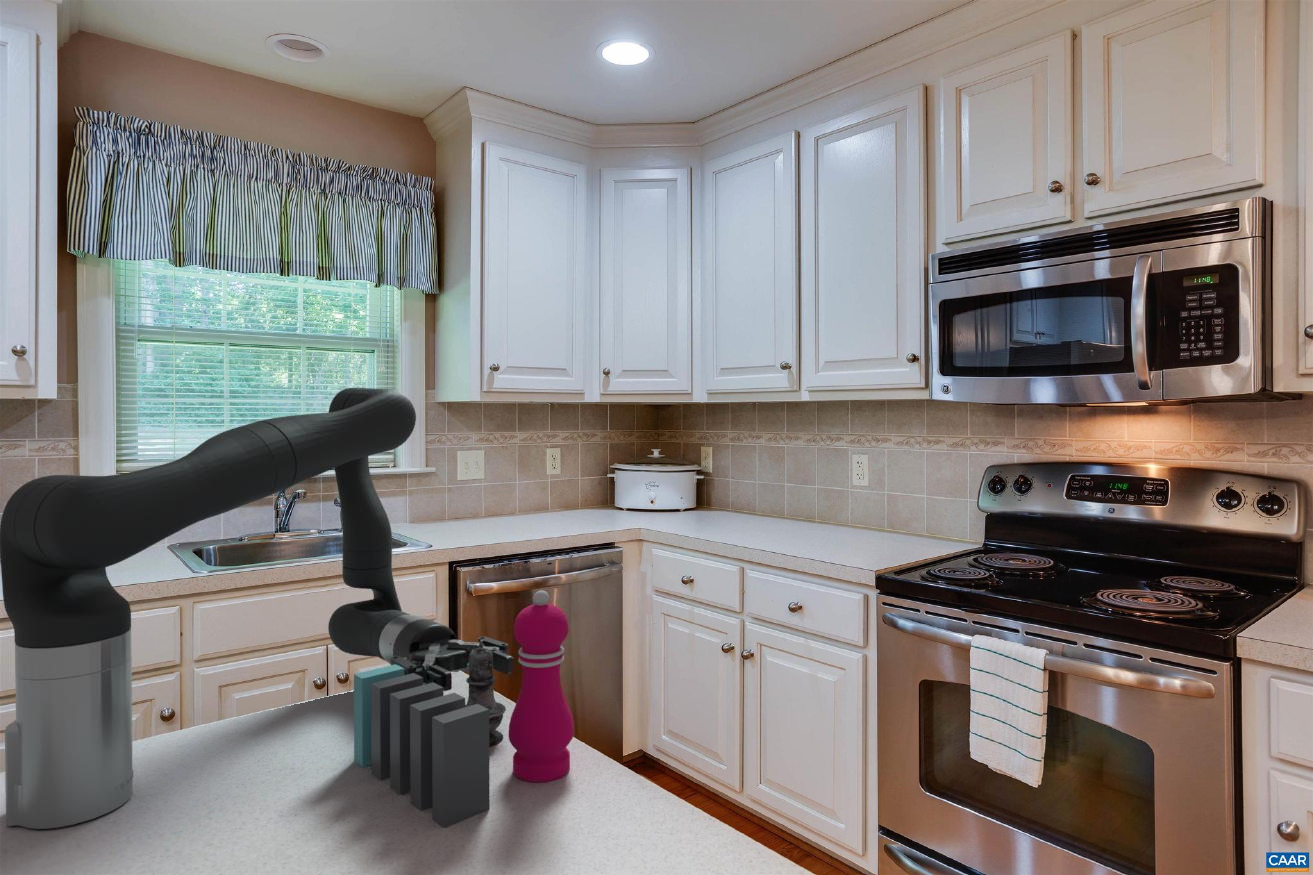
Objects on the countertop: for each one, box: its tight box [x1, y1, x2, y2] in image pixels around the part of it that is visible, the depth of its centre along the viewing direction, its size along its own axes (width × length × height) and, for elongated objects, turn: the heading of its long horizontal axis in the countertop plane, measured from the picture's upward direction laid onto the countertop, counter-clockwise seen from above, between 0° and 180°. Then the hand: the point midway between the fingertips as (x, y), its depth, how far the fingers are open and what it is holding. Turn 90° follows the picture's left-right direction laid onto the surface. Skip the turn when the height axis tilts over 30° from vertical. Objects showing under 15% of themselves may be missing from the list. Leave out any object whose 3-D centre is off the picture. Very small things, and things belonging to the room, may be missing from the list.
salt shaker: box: [465, 641, 507, 748], centre depth 92 cm, size 6×6×12 cm
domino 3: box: [389, 683, 445, 796], centre depth 80 cm, size 2×5×10 cm, turn 135°
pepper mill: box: [508, 590, 575, 783], centre depth 83 cm, size 7×7×20 cm
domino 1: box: [353, 664, 404, 768], centre depth 86 cm, size 2×5×10 cm, turn 135°
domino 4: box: [410, 692, 466, 812], centre depth 77 cm, size 2×5×10 cm, turn 135°
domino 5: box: [432, 704, 491, 829], centre depth 74 cm, size 2×5×10 cm, turn 135°
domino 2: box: [371, 673, 423, 782], centre depth 83 cm, size 2×5×10 cm, turn 135°
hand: (481, 673), depth 92 cm, fingers open, 8 cm apart
